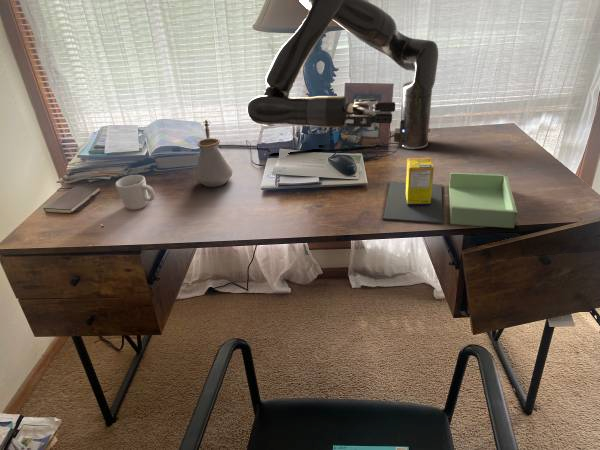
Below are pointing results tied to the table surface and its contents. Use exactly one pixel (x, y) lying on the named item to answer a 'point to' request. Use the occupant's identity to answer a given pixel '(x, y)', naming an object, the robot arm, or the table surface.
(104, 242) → the table surface
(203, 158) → the coffee pot
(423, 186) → the supplement box
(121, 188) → the cup
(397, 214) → the grey mat
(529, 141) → the table surface
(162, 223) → the table surface
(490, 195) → the desk tray
